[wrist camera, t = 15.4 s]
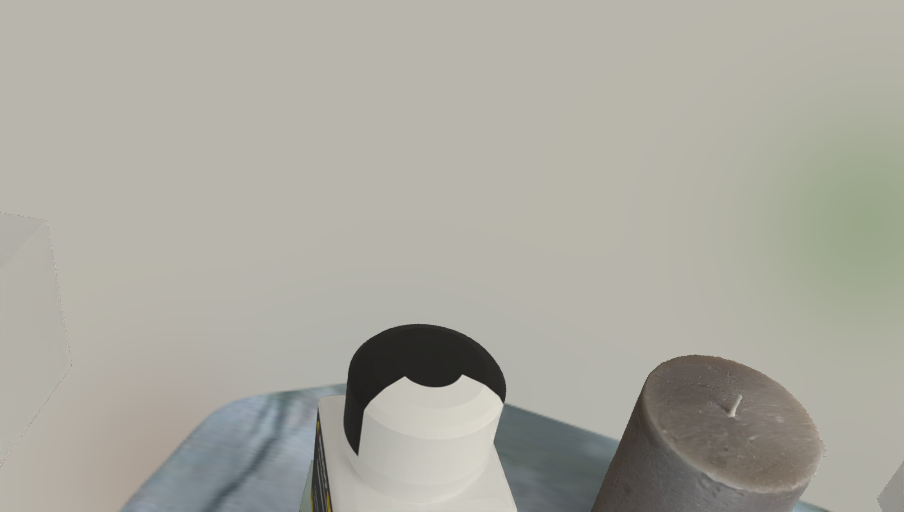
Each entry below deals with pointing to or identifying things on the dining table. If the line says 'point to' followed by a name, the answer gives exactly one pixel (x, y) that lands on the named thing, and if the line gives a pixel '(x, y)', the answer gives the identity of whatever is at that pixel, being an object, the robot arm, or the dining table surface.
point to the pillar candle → (712, 443)
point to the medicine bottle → (413, 428)
